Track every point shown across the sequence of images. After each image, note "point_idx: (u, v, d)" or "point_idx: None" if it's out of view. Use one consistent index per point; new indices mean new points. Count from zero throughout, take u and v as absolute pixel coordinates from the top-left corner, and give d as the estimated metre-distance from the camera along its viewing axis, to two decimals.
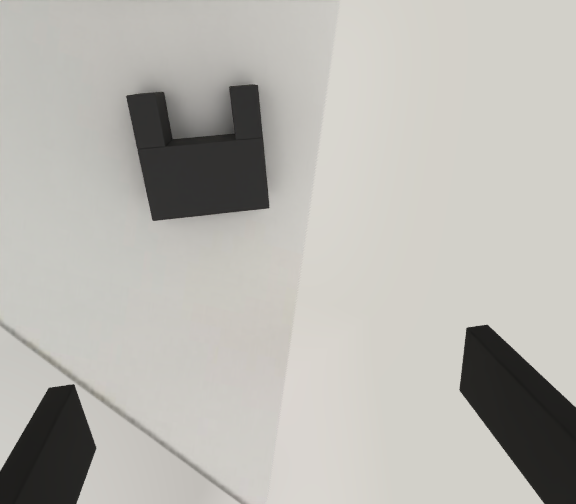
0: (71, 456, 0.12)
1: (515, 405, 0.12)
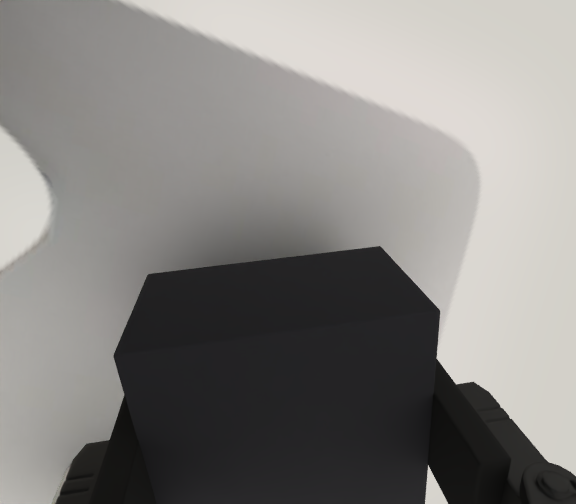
0: None
1: None
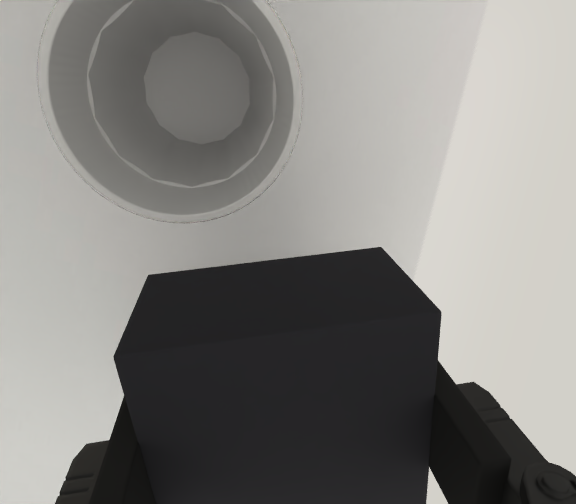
0: None
1: None
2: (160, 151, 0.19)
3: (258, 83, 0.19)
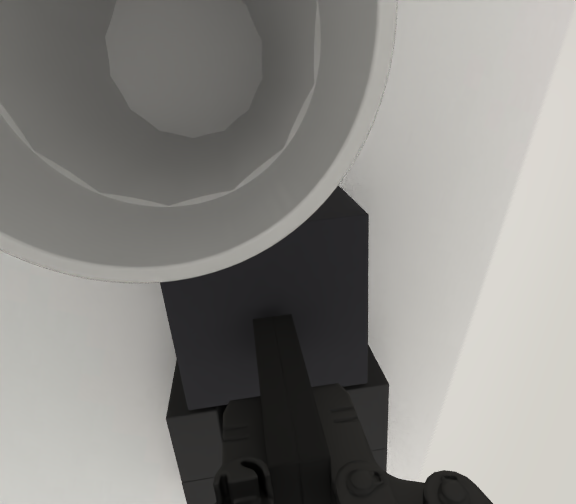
0: None
1: None
2: (123, 146, 0.12)
3: (279, 37, 0.12)
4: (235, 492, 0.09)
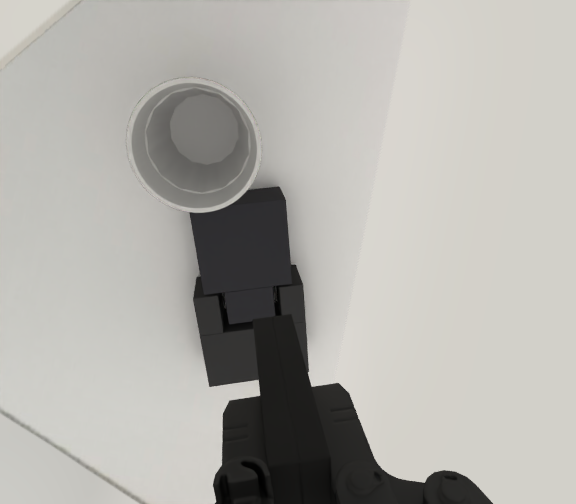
0: None
1: None
2: (181, 171, 0.31)
3: (242, 129, 0.31)
4: (235, 492, 0.09)
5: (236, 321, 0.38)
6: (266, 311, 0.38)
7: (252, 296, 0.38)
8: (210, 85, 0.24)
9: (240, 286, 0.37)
